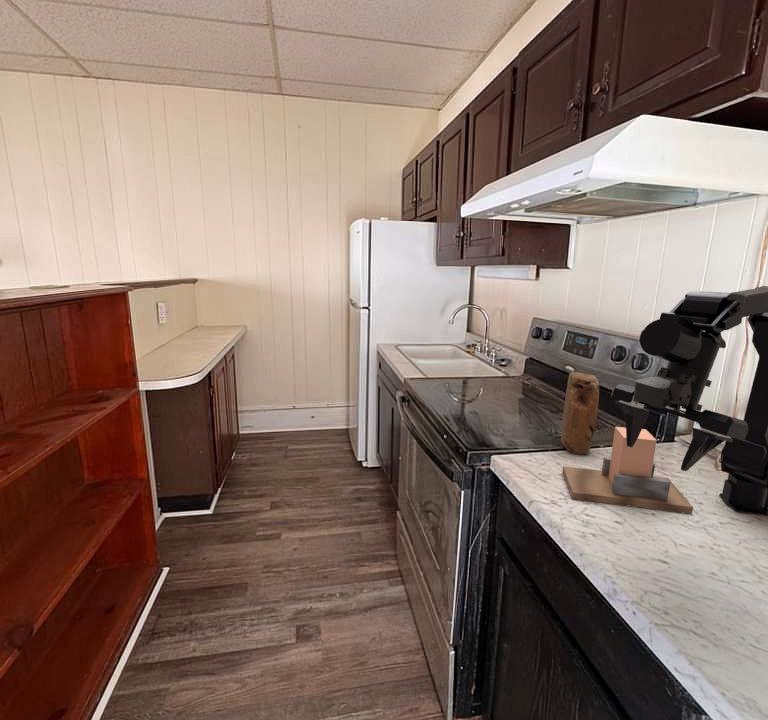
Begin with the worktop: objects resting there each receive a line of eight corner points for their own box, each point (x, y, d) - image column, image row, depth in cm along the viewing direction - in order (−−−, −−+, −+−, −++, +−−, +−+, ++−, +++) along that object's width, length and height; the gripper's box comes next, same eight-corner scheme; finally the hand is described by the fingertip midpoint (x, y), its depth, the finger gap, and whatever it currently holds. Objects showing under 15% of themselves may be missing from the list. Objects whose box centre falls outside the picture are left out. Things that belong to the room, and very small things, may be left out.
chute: (666, 484, 94) (670, 461, 93) (691, 513, 83) (696, 488, 82) (562, 472, 99) (564, 450, 98) (572, 498, 88) (575, 474, 87)
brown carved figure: (559, 438, 119) (567, 369, 115) (588, 441, 117) (597, 372, 112) (562, 453, 109) (570, 379, 105) (593, 458, 107) (603, 382, 102)
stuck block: (637, 480, 93) (645, 429, 90) (647, 494, 87) (656, 440, 84) (608, 477, 94) (615, 426, 91) (616, 490, 88) (623, 437, 86)
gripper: (606, 346, 73) (576, 431, 74) (727, 373, 56) (685, 481, 58) (645, 359, 77) (616, 438, 79) (767, 387, 61) (727, 486, 63)
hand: (654, 457), depth 70 cm, fingers open, 9 cm apart
